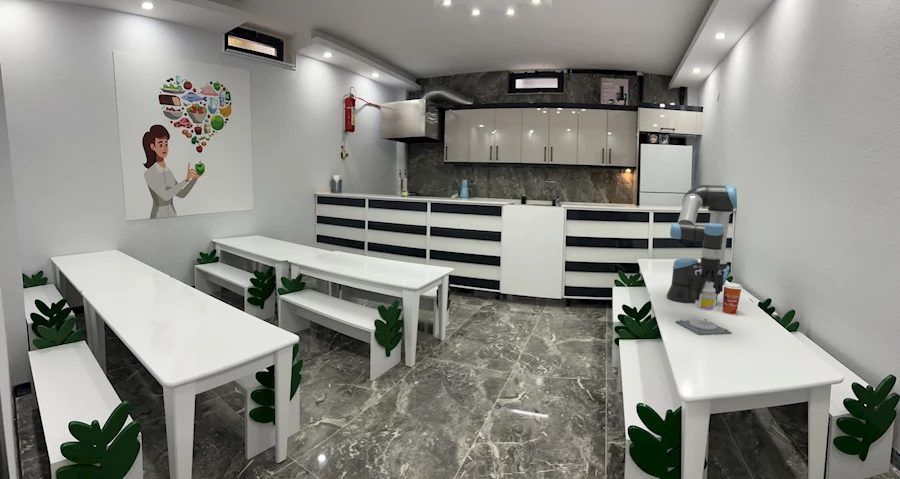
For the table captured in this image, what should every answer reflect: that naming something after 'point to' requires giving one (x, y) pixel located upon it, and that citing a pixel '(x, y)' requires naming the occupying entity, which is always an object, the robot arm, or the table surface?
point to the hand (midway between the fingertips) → (705, 306)
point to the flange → (703, 327)
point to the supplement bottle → (708, 296)
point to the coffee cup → (731, 297)
